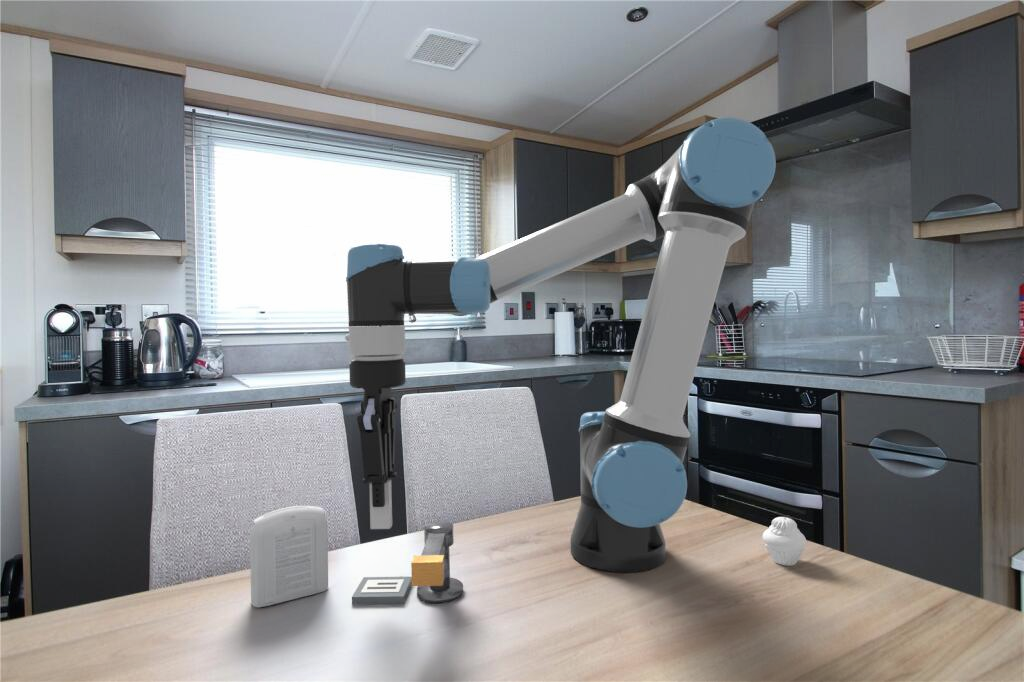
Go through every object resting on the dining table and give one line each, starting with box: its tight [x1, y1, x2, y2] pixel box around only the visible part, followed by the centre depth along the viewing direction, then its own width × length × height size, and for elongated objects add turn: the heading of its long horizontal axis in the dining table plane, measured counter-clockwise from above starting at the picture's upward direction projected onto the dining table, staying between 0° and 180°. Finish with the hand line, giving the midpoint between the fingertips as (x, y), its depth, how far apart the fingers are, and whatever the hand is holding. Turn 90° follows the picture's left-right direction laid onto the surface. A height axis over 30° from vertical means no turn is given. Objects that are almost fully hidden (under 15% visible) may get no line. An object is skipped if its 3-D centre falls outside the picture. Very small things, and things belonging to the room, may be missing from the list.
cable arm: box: [410, 520, 455, 587], centre depth 74 cm, size 14×4×3 cm, turn 1°
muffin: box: [762, 516, 807, 567], centre depth 88 cm, size 6×6×7 cm
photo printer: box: [249, 505, 329, 608], centre depth 80 cm, size 10×4×12 cm, turn 123°
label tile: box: [351, 576, 412, 605], centre depth 80 cm, size 7×6×1 cm
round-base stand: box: [416, 547, 464, 605], centre depth 80 cm, size 6×6×7 cm
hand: (381, 526), depth 80 cm, fingers closed
